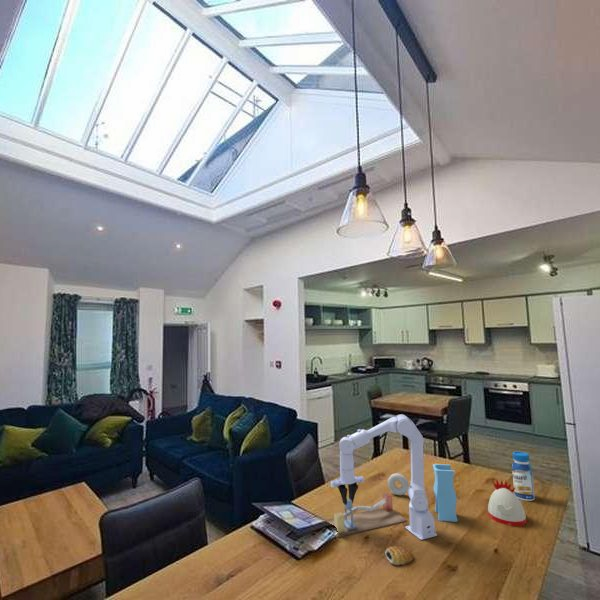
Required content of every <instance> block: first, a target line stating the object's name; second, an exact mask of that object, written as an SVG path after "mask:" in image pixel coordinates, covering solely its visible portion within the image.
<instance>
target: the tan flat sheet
mask: <svg viewBox="0 0 600 600" xmlns="http://www.w3.org/2000/svg"><path fill="white" fill-rule="evenodd" d="M324 520H325V521H327V522H329V523H330V524H332V525H334V517H333V518H327V519H324ZM347 520H351V515H349V516H348V517H347ZM344 521H345V519H344ZM406 522H408V520H407V519H406V518H405V517H403V515H401V514H399V513H398V512H396V511H395V510H394V509H393V511H389V512H386V511H385V510H384V509H383V507H378V508H377V509H376V510H374V511H365V510H364V511H360V512H357V513H353V523H354V524H355V525H356V526H357V528H355V529H351V530H348V529H347V528H346V527H345V533H343V534H339V535H338V534H336V535H335V536H334V537H335V538H336V539H339V538H342V537H347V536H350V535H355V534H359V533H363V532H368V531H372V530H376V529H377V530H378V529H380V528H385V527H389V526H393V525H398V524H401V523H406Z"/></svg>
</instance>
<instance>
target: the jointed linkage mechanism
mask: <svg viewBox="0 0 600 600" xmlns="http://www.w3.org/2000/svg"><path fill="white" fill-rule="evenodd" d="M381 497H382V499H380V500H379V501H378V502H376V503H375V504H373V505H372V506H370V505H355V506H352V507H353V508H352V509H351V510H353V514H355V512H358V511H364V512H365V511H374V510H376V509H379V508H381V507H382V508H383V509H384V510H385V511H386V512H389V511H393V510H394V508H393V495H392V494H391V493H389V492H384V493H382V495H381ZM346 511H347V512H345V511H344V512H341V511H340V512H335V513H333V516H334V517H333V518H334V526H335V527H336V528H337V531H338V533H337V534H338V535H339V534H343V533H345V524H344V519H345V518H346V517H348V516H349V515H351V512H350V511H349V510H348V509H347V510H346Z"/></svg>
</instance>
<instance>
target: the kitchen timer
mask: <svg viewBox="0 0 600 600" xmlns="http://www.w3.org/2000/svg"><path fill="white" fill-rule="evenodd" d="M495 481H496V483H495V482H494V481H492V484H493V486H494V488H495V490H494V491H492V493H491V494H490V495H488V496H489V501H488V504H487V515H488V517H489V518H490V519H492V520H493V521H495V522H497V523H499V524H503V525H505V526H511V527H514V526H515V527H519V526H524V525H525V524H526V523H527V516H526V511H525V509H524V506H523V504H522V502H521V499H519V498H518V497H517V496H516V495H515V494H514V490H515V487H514V486H513V488H512V489H511V486H512V484H511V483H509V485H508V482H507V480H506V479H505V481H503V479H501V480H500V482H499V480H498V479H497V478H496V480H495ZM503 482H504V483H503Z"/></svg>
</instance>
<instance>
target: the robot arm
mask: <svg viewBox="0 0 600 600" xmlns="http://www.w3.org/2000/svg"><path fill="white" fill-rule="evenodd" d="M387 432H390V433H394V434H395V433H397V432H398V433H399V434H401V435H402V436H405V437H406V438H407V439H409V441H410V477H411V478H410V481H409V483H410V484H409V488H408V491H407V495H408V497H409V499H410V501H409V504H408V516H409V525H406V526H405V529H406V530H407V531H409V532H410V533H411V534H412V535H414V536H415V537H416V538H418V539H419V540H420V541H421V540H426V539H430V538H433V537H437V536H438V534H437V533H436V527H435V525H436V523H435V517H434V515H433V514H432V513H431V512H430V510H429V500H428V498H427V495H426V488H425V478H424V477H425V475H424V473H425V472H424V469H425V468H424V465H425V464H424V437H423V435H422V433H421V432H420V431H419V429H418V428H417V426H416V425H415V423H414V422H413V420H412V419H411V418H409V417H408V416H406V415H405V414H402V413H401V414H397V415H396V416H392V417H390V418H388V419H386V420H385V421H383V422H381V423H379V424H377V425H375V426H372V427H371V428H370V429H368V430H366V429H364V428H363V429H361V428H359V429H357V431H356V432H354V433H352V434H347V435H346V436H343V437H342V438H340V439H339V443H338V444H339V445H338V447H339V475H340V477H339V478H336V479H334V480H331V481H330V487H331V488H332V489H335V488H337V489H338V491H339V493H340V496H341V500H342V503H343V505H344V504H345V505H347V499H350V500H352V504H354V500H355V495H356V493H357V491H358V489H359V483H361V484H362V483H365V479H364V476H362V475H360V476H359V475H358V476H356V475H355V467H354V466H355V464H354V463H355V462H354V461H355V460H354V454H353V453H354V450H357V449H359V448H361V447H363V446H365V445H367V444H370V442H371V439H373V438H375V437H377V436H380V435H382V434H385V433H387ZM346 486H347V487H346ZM347 494H348V495H347ZM347 497H348V498H347Z"/></svg>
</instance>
